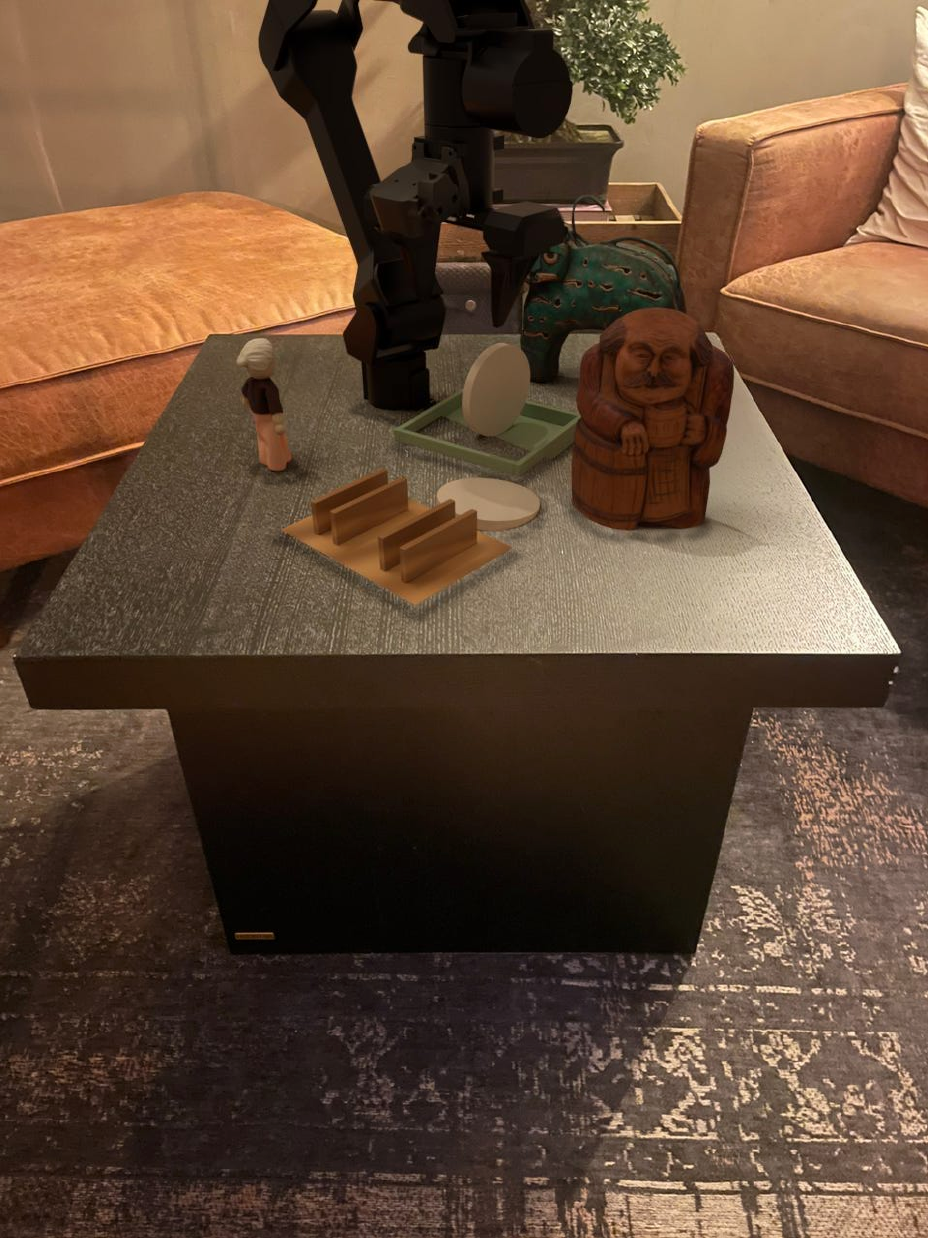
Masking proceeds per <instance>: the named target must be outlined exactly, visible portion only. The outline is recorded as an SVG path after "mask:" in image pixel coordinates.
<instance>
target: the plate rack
mask: <svg viewBox="0 0 928 1238" xmlns="http://www.w3.org/2000/svg"><path fill="white" fill-rule="evenodd" d="M388 474H389V471H388V469H386V468H384V467H382V468H380V469H377V470H376V471H373V472H371V473H369V474H367V475H365V476H363V477H361V478H358V479H356V480H353V481H352V482H349V483H347V484H344V485H343V486H340V487H338V488H336V489H334V490H332V491H329V492H327V493H325V494H323V495H321V496H318V497H317V498H315V499H313V500H311V501H310V505H311V508H310V509H311V515H308V516H306V517H304V518H302V519H300V520H298V521H296V522H294V523H292V524H290V525H288V526H285V527H284V528H281V529H280V530H281V531H282V532H284V533H286V534H287V535H289V536H291V537H292V538H294V539H296V540H298V541H300V542H302V543H303V544H305V545H307V546H309V547H311V548H312V549H315V550H316V551H318V552H319V553H322V554H323V555H325V556H326V557H328V558H330V559H332V560H333V561H336V562H337V563H339V564H341V565H343V566H345V567H347V568H348V569H350V570H352V571H353V572H355V573H357V574H359V575H361V576H362V577H364V578H366V579H367V580H369V581H371V582H373V583H375V584H377V585H379V586H380V587H382V588H384V590H385V589H386V590H387V591H389V592H391V593H392V594H394V595H396V596H397V597H399V598H401V599H403V600H405V601H406V602H409V603H410V604H412V605H413V606H417V605H419V604H421V603H422V602H424V601H426V600H427V599H429V598H430V597H432V596H434V595H436V594H438V593H439V592H440V591H443V590H445V588H447V587H449V586H451V585H452V584H455V583H456V582H457V581H459V580H461V579H463V578H464V577H466V576H468V575H469V574H471V573H472V572H474V571H476V570H478V569H480V568H481V567H482V566H484V565H486V564H487V563H489V562H491V561H493V560H495V559H497V557H500V556H501V555H503V554H504V553H506V552H508V551H510V550H511V549H512V548H513V546H511V545H508V544H506V543H504V542H503V541H500V540H498V539H496V538H494V537H492V536H490V535H488V534H486V533H483V532H481V531H480V530H477V511H476V510H474V509H470V510H469V511H467V512H465V513H463V514H461V515H459V516H457V517H456V518H455V501H454V500H452V499H449V500H447V501H445V502H443V503H441V504H439V505H437V506H436V505H435V506H434V507H432V508H430V507H429V506H426V505H424V504H422V503H420V502H417V501H416V500H414V499H411V498H409V490H408V478H406V477H404V476H401V477H398V478H396V479H394V480H393V481H390V482H389V475H388Z"/></svg>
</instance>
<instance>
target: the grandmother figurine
mask: <svg viewBox="0 0 928 1238" xmlns="http://www.w3.org/2000/svg"><path fill="white" fill-rule="evenodd" d="M273 354H274V348H273V344H272V343H271V342H270V341H269V340H268V339H267V338H264V337H260V338H253V339H251V340H249V341H248V342H247V343H245V344H244V346H243V347H242V349H241V351H240V353H239V355H238V356H237V359H236V361H235V362H236V365H237V366H238V367H240V368H246V371H247V373H248V375H250V377H248V378H247V379H246V380H245V381H244V383H243V385H242V386H241V389H240V391H241V394H242V401H241V403H242V406H243V407H245V408H246V409H247V408H248V409H249V408H250V410H251V412H252V415H253V419H254V423H255V431H256V435H257V446H258V458H259V462H260V464H262V465H264V466H267V468H268V469H269V471H273V472H281V471H284V470H286V468H287V463H289V462H290V461H291V460H292V459H293V457H292V452H291V448H290V444H289V441H288V437H287V434H286V433H287V427H286V425H285V417H284V409H283V405H282V403H281V399H280V389H279V387H278V385H276V383H275V382H274V381H273V380H272V378H271V377H272V376H273V375H274V373H275V371H276V366H277V365H276V360H275V357H274V356H273Z"/></svg>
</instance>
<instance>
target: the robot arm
mask: <svg viewBox="0 0 928 1238" xmlns="http://www.w3.org/2000/svg"><path fill="white" fill-rule="evenodd" d="M318 1H319V0H268V1H267V5H266V8H265V11H264V15H263V18H262V21H261V25H260V29H259V32H258V38H257V39H258V40H257V41H258V52H259V57H260V59H261V62H262V65H263V66H264V67H265V69H266V70H267V72H268V75H269V77H270V79H271V81H272V83H273V86H274V88H275V90H276V92H277V94H278V96H279V97H280V98H281V99H282V100H283V101H284V103H286V104H287V105H288V106H289V107H290V108H291V109H293V111H295V112H296V113H297V114H298V115H299V116H300V117H301V118H302V119H303V120H304V121H305V123H306V125H307V128H308V131H309V134H310V137H311V140H312V142H313V145H314V148H315V150H316V153H317V156H318V159H319V162H320V165H321V168H322V170H323V173H324V175H325V179H326V181H327V183H328V187H329V190H330V192H331V195H332V196H333V200H334V203H335V206H336V209H337V212H338V215H339V217H340V219H341V222H342V225H343V228H344V230H345V233H346V236H347V239H348V242H349V244H350V248H351V250H352V253H353V255H354V259H355V261H356V265H357V268H356V274H355V279H354V285H353V291H352V300H353V305H354V307H355V313H354V314H353V316H352V317H351V319H350V321H349V322H348V324H347V325H346V327H345V328H344V330H343V332H342V338H343V342H344V346H345V350H346V353H347V355H348V356H350V357H352V358H354V359H355V360H357V361H359V362H360V365H361V376H362V377H361V380H362V393H363V394H362V395H363V399H364V400H366V401H368V403H369V404H370V406H372V407H373V408H375V409H378V410H382V411H391V412H392V411H393V412H394V411H406V412H419V411H420V410H424V411H426V410H428V409H429V408H431V407H433V406H434V405H436V404H437V399H436V398H434V397H431V380H430V379H431V378H430V377H431V376H430V368H428V367H427V352H428V351H433V350H438V349H439V347H440V342H441V339H442V333H443V329H444V325H445V320H446V317H447V316H446V314H447V308H446V302H445V300H444V297H443V295H444V294H445V292H444V290H443V288H442V286H441V284H440V283H439V281H438V278H437V275H436V268H437V261H438V252H439V244H440V237H441V228H442V224H443V223H444V224H448V225H453V226H457V227H462V228H466V229H470V230H475V231H478V232H482V239H483V242H485V244H486V246H487V248H488V250H485V251H481V252H480V255H481V257H482V259H484V261H485V263H486V264H487V265H488V267H489V268H490V313H491V322H492V327H493V328H495V329H498V328H501V327H503V326H505V323H506V322H507V320H508V317H509V315H510V313H511V311H512V309H513V306H515V305H514V304H515V302H516V301H517V298H518V296H519V294H520V292H521V290H522V287H523V286H524V284H525V280H526V278H527V276H528V274H529V273H530V271H531V270H532V268H533V266H534V265H535V263H536V261H537V260H538V258H539V256H540V255H541V254H544V253H548V252H550V250H551V247H553V246H556V245H560V244H563V241H564V224H565V222H566V221H565V218H564V215H563V214H562V212H561V211H560V209H559V208H558V206H557V207H556V206H553V205H552V206H551V205H547V204H543V203H542V204H541V203H537V202H531V201H526V200H525V201H521V202H518V203H513V204H510V205H506V206H502V207H498V208H494V205H497V204H500V203H504V189H503V188H500V187H494V185H495V180H494V179H495V178H494V177H495V175H494V174H495V170H494V169H495V151H500V150H504V149H505V137H506V135H505V134H500V133H495V131H498V132H504V133H510V134H512V135H513V134H514V135H519V136H524V137H529V138H534V139H545V138H547V137H549V136H551V135H553V134H554V133H555V132H556V131H558V130H559V128H560V127H561V126H562V125H563V123H564V121H565V119H566V117H567V116H568V113H569V111H570V107H571V104H572V98H573V94H574V93H573V92H574V91H573V90H574V89H573V88H574V87H573V86H574V84H573V80H571V75H570V69H569V67H568V65H567V62H566V60H565V59H564V58H563V56H562V55H561V54H560V53H559V52H558V51H557V50H555V49H554V36H555V35H554V34H555V32H554V30H553V29H552V28H535V24H534V22H533V19H532V16H531V13H532V12H531V10H530V8H529V6H528V4H527V2H526V0H374V1H377V2H388V3H393V4H396V5H398V6H399V8H400V11H401V12H402V13H403V15H404V14H405V15H407V16H409V17H411V18H413V19H415V20H417V21H419V22H422V24H421V27H420V28H419V30H418V31H417V32H416V33H415V34H414V35H413V36H412V37H411V39H410V40H409V41H408V43H407V51H408V53H410V54H415V55H421V56H422V57H421V59H422V89H423V91H422V92H423V95H422V96H423V129H424V130H423V131H424V135H419V136H414V137H413V142H412V144H411V159H410V162H408V163H407V164H405V165H403V166H400V167H398V168H397V169H395V170H394V171H393V172H391V173H390V174H388V175H387V176H386V177H385V178H384V179H383V180H382V179H381V177H380V174H379V172H378V168H377V165H376V163H375V160H374V156H373V154H372V152H371V149H370V146H369V143H368V140H367V137H366V134H365V132H364V131H365V130H364V129H363V126H362V123H361V120H360V117H359V115H358V112H357V109H356V106H355V104H354V99H353V95H354V89H355V84H356V77H357V72H358V62H357V58H356V54H355V51H356V49H357V46H358V44H359V42H360V39H361V36H362V33H363V32H364V25H363V20H362V16H361V10H360V5H359V3H360V1H361V0H341V1H340V5H339V7H338V10H337V12H336V11H334V10H333V9H316V6H317V4H318V3H319V2H318ZM470 215H471V216H470ZM426 351H427V352H426Z"/></svg>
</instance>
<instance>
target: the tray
mask: <svg viewBox="0 0 928 1238" xmlns="http://www.w3.org/2000/svg"><path fill="white" fill-rule="evenodd" d="M463 389H464V387H462V388H461V389H459V390H458V391H456V392H454V393H453V394H451V395H449V396H447V397H446V398H444V399H442V400H441V401H440V402H438V403H436V404H435V405H433V406H431V407H430V408H428V409H426V410H424V411H423V412H420V414H418V415H416V416H414V417H413V418H411V419H409V420H407V421H406V422H404V423H402V424H400V426H398V427H396V428H394V429H393V432H394V435H393V436H394V441H396V442H399V443H402V444H406V445H409V446H413V447H416V448H419V449H423V450H426V451H429V452H433V453H437V454H440V455H443V456H446V457H450V458H454V459H457V460H461V461H464V462H466V463H467V462H468V463H471V464H474V465H478V466H481V467H485V468H488V469H490V470H491V469H492V470H495V471H498V472H501V473H505V474H507V475H512V476H515V477H517V478H520V477H521V476H522V475H524V474H525V473H527V472H528V471H529V470H530V469H532V468H533V467H534V466H535V465H536V464H538V463H539V462H540V461H542V460H543V459H545V458H547V459H549V460H553V459H555V458H556V457H558V455H560V454H561V453H562V452H564V451H565V450H567V448H569V447H570V446H571V445H572V444H573V443H574V434H575V428H576V424H577V421H578V419H580V417H581V416H580V413H579V412H575V411H570V410H567V409H562V408H559V407H555V406H551V405H547V404H542V403H539V402H534V401H531V400H527V399H526V402H525V405H524V407H523V409H522V411H521V413H520V415H519V416H518V418H517V419H516V421H515V422H514V423H513V424H512V425H511V427H510V428H508V429H507V430H506V431H505V432H503V433H502V434H500V435H497V436H493V437H494V438H497V439H499V440H500V441H504V442H506V443H509V444H512V445H515V446H517V447H520V448H522V449H525V450H527V451H529V452H528V453H527V454H525V455H524V456H523V457H522V458H520V459H518V461H517V460H513V459H510V458H505V457H503V456H498V455H496V454H492V453H488V452H486V451H482V450H478V449H474V448H471V447H468V446H464V445H461V444H457V443H454V442H450V441H446V440H443V439H440V438H436V437H433V436H429V435H425V434H421V433H418V431H419V430H422V429H423V428H424V427H426V426H427V425H429V424H431V423H432V422H434V421H435V420H438V419H439V418H440V417H442V418H445V419H448V420H450V421H453V422H456V423H457V424H461V425H463V426H466V427H468V428H470V427H469V426H468V425H467V423H466V421H465V418H464V414H463V408H462V397H463Z"/></svg>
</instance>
